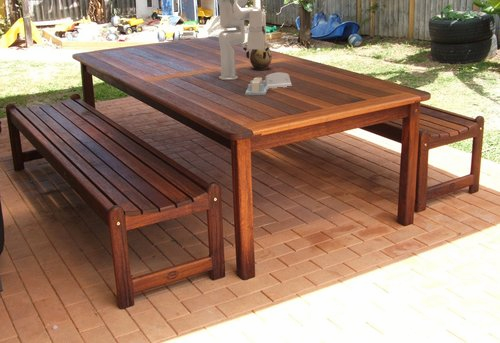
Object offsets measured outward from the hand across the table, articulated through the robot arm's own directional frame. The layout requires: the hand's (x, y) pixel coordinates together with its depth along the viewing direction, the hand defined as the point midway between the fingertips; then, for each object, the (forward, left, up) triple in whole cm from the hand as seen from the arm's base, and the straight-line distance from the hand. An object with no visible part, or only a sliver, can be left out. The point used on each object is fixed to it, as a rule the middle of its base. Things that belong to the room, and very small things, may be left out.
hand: (256, 58), depth 422 cm
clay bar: (0, 0, -19) cm, 19 cm away
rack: (0, 0, -20) cm, 20 cm away
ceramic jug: (-73, -6, -21) cm, 76 cm away
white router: (-15, +12, -21) cm, 28 cm away
